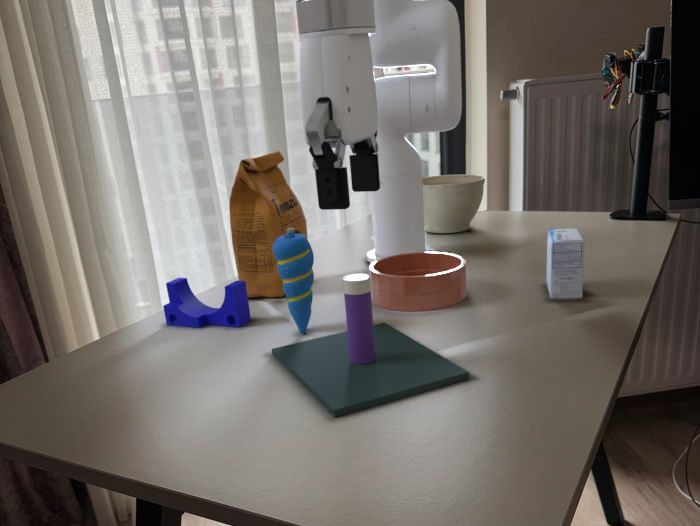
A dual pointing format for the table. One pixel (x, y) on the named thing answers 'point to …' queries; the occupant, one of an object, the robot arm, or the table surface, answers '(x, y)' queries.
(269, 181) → the coffee package
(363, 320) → the glue stick
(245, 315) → the blue pipe cradle
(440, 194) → the planter bowl
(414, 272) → the bowl
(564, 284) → the medicine box
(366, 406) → the mat
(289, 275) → the ornament
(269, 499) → the table surface
